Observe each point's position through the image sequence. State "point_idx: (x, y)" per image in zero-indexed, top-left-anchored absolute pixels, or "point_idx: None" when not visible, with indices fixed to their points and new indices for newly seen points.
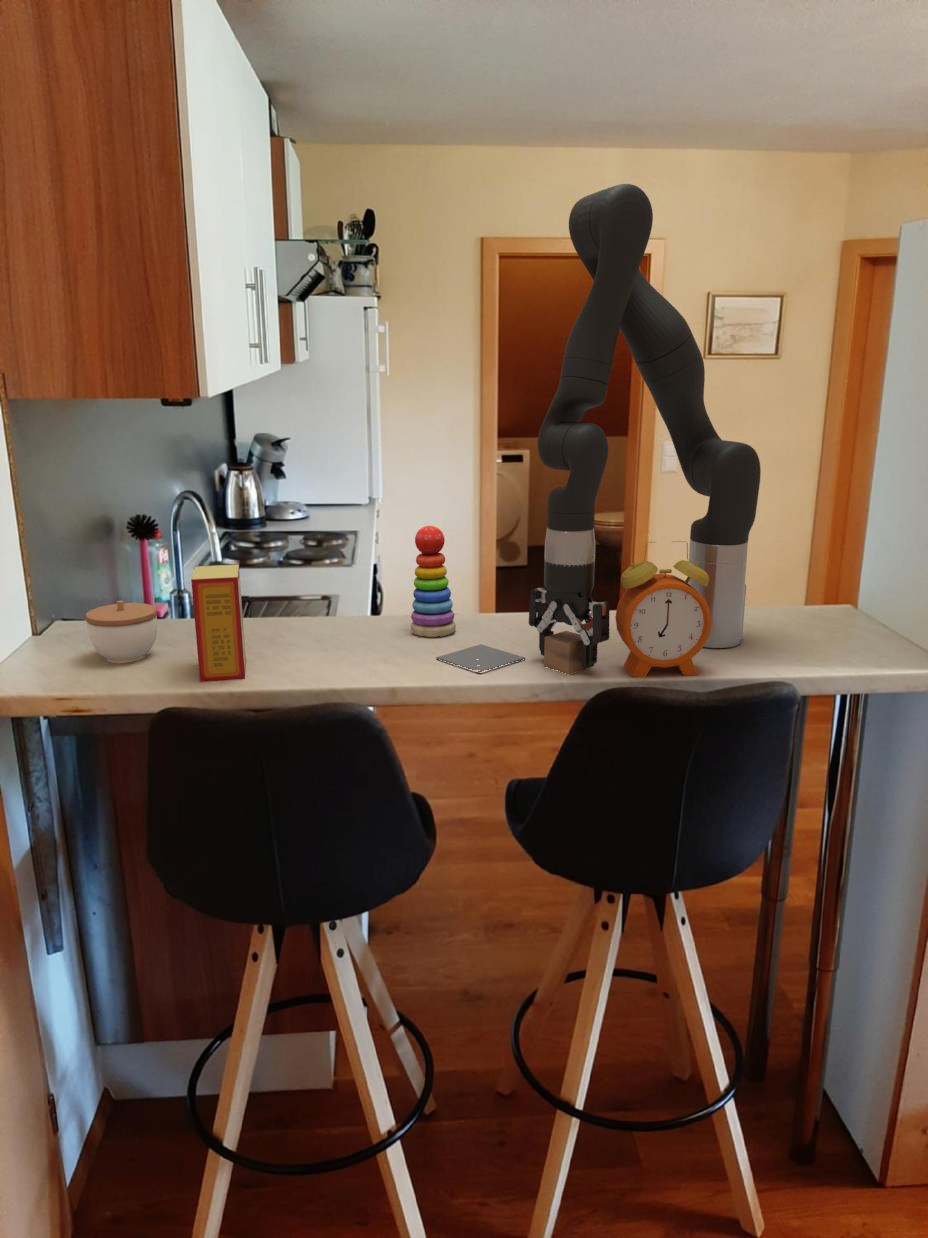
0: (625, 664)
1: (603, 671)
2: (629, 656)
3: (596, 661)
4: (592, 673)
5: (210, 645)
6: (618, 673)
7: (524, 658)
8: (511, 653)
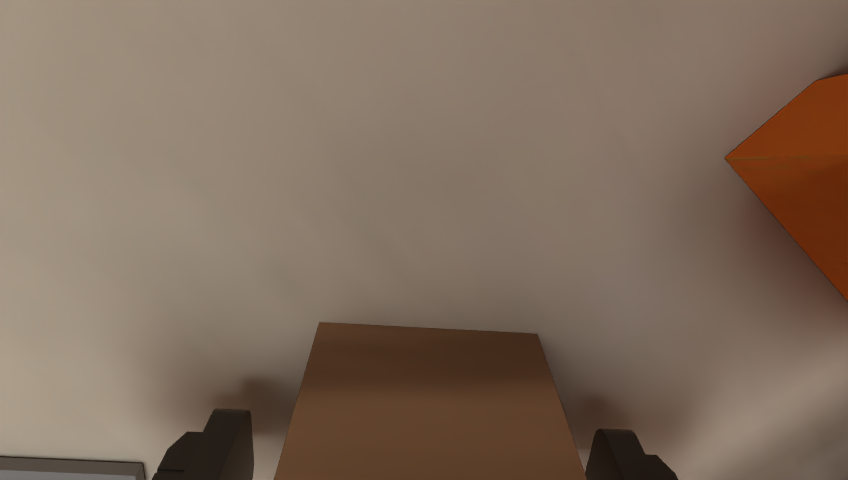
0: (756, 177)
1: (649, 338)
2: (824, 177)
3: (667, 466)
4: (608, 403)
5: None
6: (752, 310)
7: (136, 474)
8: (12, 470)
